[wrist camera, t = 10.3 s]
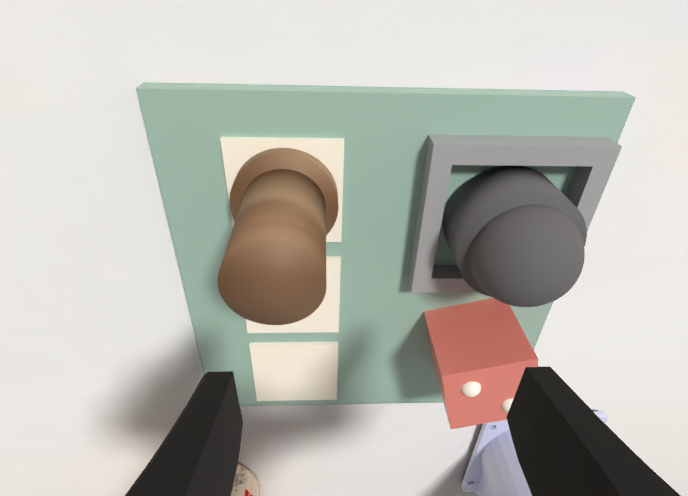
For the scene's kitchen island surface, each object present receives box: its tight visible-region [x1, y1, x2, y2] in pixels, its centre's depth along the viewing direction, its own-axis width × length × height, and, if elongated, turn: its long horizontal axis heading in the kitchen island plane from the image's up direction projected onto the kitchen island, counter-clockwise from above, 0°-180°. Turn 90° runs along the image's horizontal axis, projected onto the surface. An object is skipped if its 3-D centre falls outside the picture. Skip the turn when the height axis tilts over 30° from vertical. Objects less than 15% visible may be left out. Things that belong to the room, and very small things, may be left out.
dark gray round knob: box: [443, 166, 587, 307], centre depth 16 cm, size 5×5×5 cm
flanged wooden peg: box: [217, 148, 338, 325], centre depth 15 cm, size 4×4×6 cm
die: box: [424, 298, 538, 429], centre depth 21 cm, size 4×4×4 cm
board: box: [136, 83, 635, 406], centre depth 20 cm, size 18×18×2 cm
